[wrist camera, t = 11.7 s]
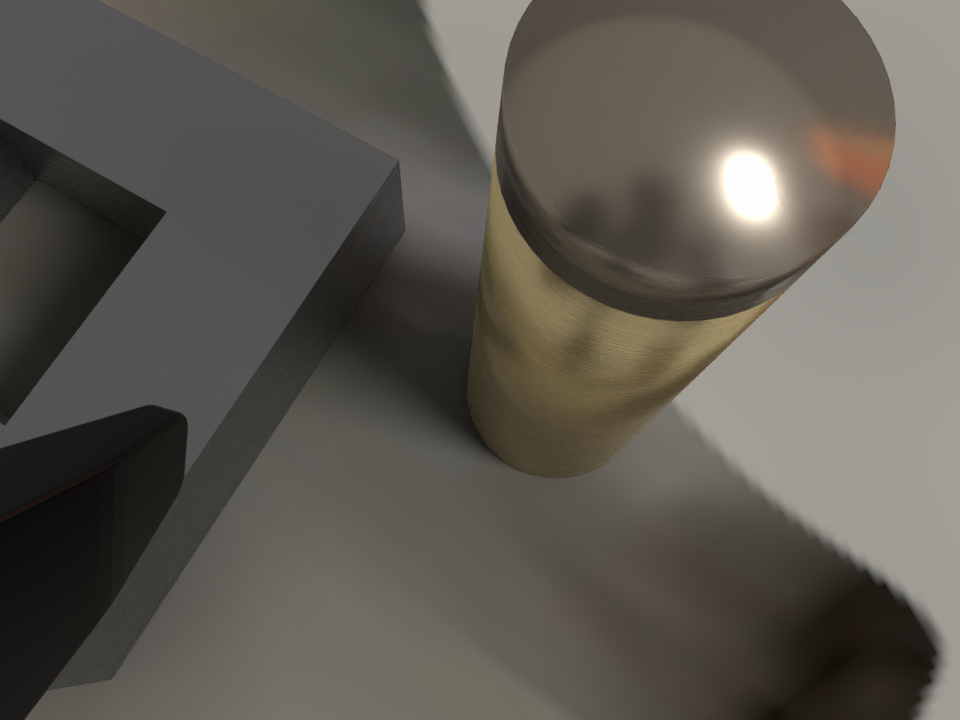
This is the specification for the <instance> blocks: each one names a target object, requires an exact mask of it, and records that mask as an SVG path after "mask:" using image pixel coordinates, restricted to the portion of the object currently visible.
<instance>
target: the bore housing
mask: <svg viewBox="0 0 960 720" xmlns="http://www.w3.org/2000/svg"><path fill="white" fill-rule="evenodd" d="M36 178H37V179H38V180H40V181H42V182H44V183H45V184H47V185H49V186H51V187H53V188H54V189H56V190H58V191H60V192H61V193H63V194H65V195H67V196H68V197H70V198H72V199H74V200H76V201H77V202H79V203H81V204H83V205H84V206H86V207H88V208H90V209H92V210H93V211H95V212H97V213H99V214H100V215H102V216H104V217H106V218H108V219H109V220H111V221H113V222H115V223H116V224H118V225H120V226H122V227H123V228H125V229H127V230H129V231H131V232H132V233H134V234H136V235H138V236H139V237H141V238H143V239H145V242H144V243H143V244H142V246H141V247H140V248H139V249H138V251H137V252H136V253H135V255H134V256H133V257H132V259H131V260H130V261H129V263H128V264H127V265H126V267H125V268H124V269H123V271H122V272H121V273H120V275H119V276H118V277H117V279H116V280H115V281H114V283H113V284H112V285H111V286H110V288H109V289H108V290H107V292H106V293H105V294H104V296H103V297H102V298H101V300H100V301H99V302H98V304H97V305H96V306H95V308H94V309H93V310H92V312H91V313H90V314H89V316H88V317H87V318H86V320H85V321H84V322H83V323H82V325H81V326H80V327H79V329H78V330H77V331H76V333H75V334H74V335H73V337H72V338H71V339H70V341H69V342H68V343H67V345H66V346H65V347H64V349H63V350H62V351H61V353H60V354H59V355H58V357H57V358H56V359H55V361H54V362H53V363H52V364H51V366H50V367H49V368H48V370H47V371H46V372H45V374H44V375H43V376H42V378H41V379H40V380H39V382H38V383H37V384H36V386H35V387H34V388H33V390H32V391H31V392H30V394H29V395H28V396H27V398H26V399H25V400H24V401H23V403H22V404H21V405H20V407H19V408H18V409H17V411H16V412H15V413H14V415H13V416H12V417H11V418H9V417H8V416H6V415H4V414H3V413H1V412H0V448H2V447H6V446H9V445H13V444H16V443H19V442H23V441H26V440H30V439H33V438H36V437H40V436H43V435H47V434H50V433H53V432H57V431H60V430H64V429H67V428H70V427H74V426H77V425H80V424H84V423H87V422H91V421H94V420H97V419H101V418H104V417H108V416H111V415H114V414H118V413H121V412H125V411H128V410H131V409H135V408H138V407H142V406H145V405H157V406H160V407H164V408H167V409H170V410H174V411H177V412H180V413H182V414H184V416H185V417H186V418H187V422H188V436H187V450H186V463H185V475H184V480H183V484H182V487H181V490H180V492H179V494H178V496H177V498H176V500H175V501H174V503H173V505H172V506H171V508H170V509H169V511H168V513H167V514H166V516H165V518H164V519H163V521H162V523H161V524H160V526H159V528H158V529H157V531H156V533H155V534H154V536H153V538H152V539H151V541H150V543H149V544H148V546H147V548H146V549H145V551H144V553H143V554H142V556H141V558H140V559H139V561H138V563H137V564H136V566H135V568H134V569H133V571H132V573H131V574H130V576H129V578H128V579H127V581H126V583H125V584H124V586H123V588H122V589H121V591H120V592H119V594H118V596H117V597H116V599H115V600H114V602H113V603H112V605H111V607H110V608H109V609H108V611H107V612H106V613H105V615H104V616H103V618H102V619H101V620H100V622H99V623H98V624H97V626H96V627H95V628H94V630H93V631H92V632H91V634H90V635H89V636H88V637H87V639H86V640H85V641H84V643H83V644H82V645H81V647H80V648H79V649H78V651H77V652H76V653H75V654H74V656H73V657H72V658H71V660H70V661H69V662H68V664H67V665H66V666H65V667H64V669H63V670H62V671H61V673H60V674H59V675H58V677H57V678H56V679H55V680H54V682H53V683H52V684H51V686H50V687H49V688H48V690H52V689H58V688H64V687H70V686H76V685H82V684H87V683H93V682H99V681H105V680H111V679H112V677H113V676H114V674H115V673H116V671H117V670H118V668H119V667H120V665H121V664H122V662H123V661H124V659H125V658H126V656H127V655H128V653H129V651H130V650H131V648H132V647H133V645H134V644H135V642H136V641H137V639H138V638H139V636H140V635H141V633H142V632H143V630H144V629H145V627H146V626H147V624H148V622H149V621H150V619H151V618H152V616H153V615H154V613H155V612H156V610H157V609H158V607H159V606H160V604H161V603H162V601H163V600H164V598H165V597H166V595H167V593H168V592H169V590H170V589H171V587H172V586H173V584H174V583H175V581H176V580H177V578H178V577H179V575H180V574H181V572H182V571H183V569H184V568H185V566H186V565H187V563H188V561H189V560H190V558H191V557H192V555H193V554H194V552H195V551H196V549H197V548H198V546H199V545H200V543H201V542H202V540H203V539H204V537H205V536H206V534H207V532H208V531H209V529H210V528H211V526H212V525H213V523H214V522H215V520H216V519H217V517H218V516H219V514H220V513H221V511H222V510H223V508H224V507H225V505H226V503H227V502H228V500H229V499H230V497H231V496H232V494H233V493H234V491H235V490H236V488H237V487H238V485H239V484H240V482H241V481H242V479H243V478H244V476H245V474H246V473H247V471H248V470H249V468H250V467H251V465H252V464H253V462H254V461H255V459H256V458H257V456H258V455H259V453H260V452H261V450H262V449H263V447H264V446H265V444H266V442H267V441H268V439H269V438H270V436H271V435H272V433H273V432H274V430H275V429H276V427H277V426H278V424H279V423H280V421H281V420H282V418H283V417H284V415H285V413H286V412H287V410H288V409H289V407H290V406H291V404H292V403H293V401H294V400H295V398H296V397H297V395H298V394H299V392H300V391H301V389H302V388H303V386H304V384H305V383H306V381H307V380H308V378H309V377H310V375H311V374H312V372H313V371H314V369H315V368H316V366H317V365H318V363H319V362H320V360H321V359H322V357H323V356H324V354H325V352H326V351H327V349H328V348H329V346H330V345H331V343H332V342H333V340H334V339H335V337H336V336H337V334H338V333H339V331H340V330H341V328H342V327H343V325H344V323H345V322H346V320H347V319H348V317H349V316H350V314H351V313H352V311H353V310H354V308H355V307H356V305H357V304H358V302H359V301H360V299H361V298H362V296H363V294H364V293H365V291H366V290H367V288H368V287H369V285H370V284H371V282H372V281H373V279H374V278H375V276H376V275H377V273H378V272H379V270H380V269H381V267H382V265H383V264H384V262H385V261H386V259H387V258H388V256H389V255H390V253H391V252H392V250H393V249H394V247H395V246H396V244H397V243H398V241H399V240H400V238H401V237H402V235H403V233H404V232H405V222H404V211H403V200H402V189H401V178H400V167H399V160H398V159H396V158H394V157H392V156H390V155H388V154H386V153H385V152H383V151H381V150H379V149H377V148H375V147H373V146H371V145H370V144H368V143H366V142H364V141H362V140H360V139H358V138H356V137H354V136H353V135H351V134H349V133H347V132H345V131H343V130H341V129H339V128H338V127H336V126H334V125H332V124H330V123H328V122H326V121H324V120H322V119H321V118H319V117H317V116H315V115H313V114H311V113H309V112H307V111H306V110H304V109H302V108H300V107H298V106H296V105H294V104H292V103H290V102H289V101H287V100H285V99H283V98H281V97H279V96H277V95H275V94H274V93H272V92H270V91H268V90H266V89H264V88H262V87H260V86H259V85H257V84H255V83H253V82H251V81H249V80H247V79H245V78H243V77H242V76H240V75H238V74H236V73H234V72H232V71H230V70H228V69H227V68H225V67H223V66H221V65H219V64H217V63H215V62H213V61H211V60H210V59H208V58H206V57H204V56H202V55H200V54H198V53H196V52H195V51H193V50H191V49H189V48H187V47H185V46H183V45H181V44H179V43H178V42H176V41H174V40H172V39H170V38H168V37H166V36H164V35H163V34H161V33H159V32H157V31H155V30H153V29H151V28H149V27H148V26H146V25H144V24H142V23H140V22H138V21H136V20H134V19H132V18H131V17H129V16H127V15H125V14H123V13H121V12H119V11H117V10H116V9H114V8H112V7H110V6H108V5H106V4H104V3H102V2H100V1H99V0H0V222H1V221H2V220H3V218H4V217H5V216H6V215H7V214H8V212H9V211H10V210H11V209H12V207H13V206H14V205H15V204H16V203H17V201H18V200H19V199H20V198H21V196H22V195H23V194H24V193H25V192H26V190H27V189H28V188H29V187H30V185H31V184H32V183H33V182H34V181H35V179H36Z"/></svg>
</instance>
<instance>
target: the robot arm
mask: <svg viewBox="0 0 960 720" xmlns="http://www.w3.org/2000/svg"><path fill="white" fill-rule="evenodd" d="M187 436H188V422H187V418H186V417H185V416H184V414H182V413H180V412H177V411H174V410H170V409H167V408H164V407H160V406H157V405H145V406H142V407H138V408H135V409H131V410H128V411H125V412H121V413H118V414H114V415H111V416H108V417H104V418H101V419H97V420H94V421H91V422H87V423H84V424H80V425H77V426H74V427H70V428H67V429H64V430H60V431H57V432H53V433H50V434H47V435H43V436H40V437H36V438H33V439H30V440H26V441H23V442H19V443H16V444H13V445H9V446H6V447H2V448H0V720H25V718H26V717H27V716H28V714H29V713H30V712H31V710H32V709H33V708H34V707H35V705H36V704H37V703H38V701H39V700H40V699H41V697H42V696H43V695H44V694H45V692H46V691H47V690H48V688H49V687H50V686H51V684H52V683H53V682H54V680H55V679H56V678H57V677H58V675H59V674H60V673H61V671H62V670H63V669H64V667H65V666H66V665H67V664H68V662H69V661H70V660H71V658H72V657H73V656H74V654H75V653H76V652H77V651H78V649H79V648H80V647H81V645H82V644H83V643H84V641H85V640H86V639H87V637H88V636H89V635H90V634H91V632H92V631H93V630H94V628H95V627H96V626H97V624H98V623H99V622H100V620H101V619H102V618H103V616H104V615H105V613H106V612H107V611H108V609H109V608H110V607H111V605H112V603H113V602H114V600H115V599H116V597H117V596H118V594H119V592H120V591H121V589H122V588H123V586H124V584H125V583H126V581H127V579H128V578H129V576H130V574H131V573H132V571H133V569H134V568H135V566H136V564H137V563H138V561H139V559H140V558H141V556H142V554H143V553H144V551H145V549H146V548H147V546H148V544H149V543H150V541H151V539H152V538H153V536H154V534H155V533H156V531H157V529H158V528H159V526H160V524H161V523H162V521H163V519H164V518H165V516H166V514H167V513H168V511H169V509H170V508H171V506H172V505H173V503H174V501H175V500H176V498H177V496H178V494H179V492H180V490H181V487H182V484H183V480H184V475H185V463H186V450H187Z"/></svg>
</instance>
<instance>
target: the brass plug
mask: <svg viewBox="0 0 960 720" xmlns="http://www.w3.org/2000/svg"><path fill="white" fill-rule="evenodd" d="M895 127H896V120H895V107H894V98H893V94H892V89H891V85H890V80H889V77H888V74H887V72H886V69H885V67H884V64H883V61H882V58H881V56H880V54H879V52H878V51H877V49H876V47H875V45H874V43H873V41H872V39H871V37H870V36H869V34H868V33H867V31H866V30H865V29H864V27H863V26H862V24H861V23H860V21H859V20H858V18H857V17H856V16H855V15H854V14H853V13H852V12H851V10H850V9H849V8H848V7H847V6H846V5H845V4H844V3H843V1H841V0H532V2H531V3H530V4H529V6H528V7H527V9H526V11H525V12H524V14H523V16H522V18H521V19H520V21H519V23H518V25H517V28H516V30H515V32H514V35H513V37H512V40H511V42H510V46H509V50H508V54H507V59H506V63H505V69H504V77H503V86H502V94H501V103H500V111H499V119H498V128H497V137H496V144H495V153H494V161H493V170H492V178H491V186H490V195H489V203H488V211H487V220H486V228H485V237H484V245H483V253H482V262H481V270H480V278H479V287H478V295H477V304H476V312H475V320H474V329H473V337H472V346H471V354H470V362H469V371H468V379H467V402H468V407H469V412H470V415H471V418H472V421H473V424H474V426H475V428H476V430H477V432H478V434H479V435H480V437H481V438H482V440H483V441H484V443H485V444H486V445H487V446H488V447H489V448H490V449H491V451H492V452H494V453H495V454H496V455H497V456H498V457H499V458H500V459H502V460H503V461H505V462H506V463H508V464H509V465H510V466H512V467H514V468H516V469H518V470H520V471H523V472H526V473H529V474H531V475H536V476H540V477H547V478H567V477H573V476H578V475H581V474H584V473H587V472H590V471H592V470H594V469H596V468H598V467H600V466H602V465H603V464H605V463H606V462H608V461H609V460H610V459H611V458H612V457H614V456H615V455H616V454H617V453H618V452H619V451H620V450H621V449H622V448H623V447H624V446H625V445H626V444H627V443H628V442H629V441H631V440H632V439H633V438H634V437H635V436H636V435H637V434H638V433H639V432H640V431H641V430H642V429H643V428H644V427H645V426H646V425H647V424H648V423H649V422H650V421H651V420H652V419H653V418H654V417H655V416H656V415H657V414H659V413H660V412H661V411H662V410H663V409H664V408H665V407H666V406H667V405H668V404H669V403H670V402H671V401H672V400H673V399H674V398H675V397H676V396H677V395H678V394H679V393H680V392H681V391H682V390H683V389H684V388H685V387H686V386H688V385H689V383H691V382H692V381H693V380H694V379H695V378H696V377H697V376H698V375H699V374H700V373H701V372H702V371H703V370H704V369H705V368H706V367H707V366H708V365H709V364H710V363H711V362H712V361H714V360H715V359H716V358H717V357H718V356H719V355H720V354H721V352H723V351H724V350H725V349H726V348H727V347H728V346H729V345H730V344H731V343H732V342H733V341H734V340H735V339H736V338H737V337H738V336H739V335H740V334H742V332H744V331H745V330H746V329H747V328H748V327H749V326H750V325H751V324H752V323H753V322H754V321H755V320H756V319H757V318H758V317H759V316H760V315H761V314H762V313H763V312H764V311H765V310H766V309H767V308H769V306H770V305H772V304H773V303H774V302H775V301H776V300H777V299H778V298H779V297H780V296H781V295H782V294H783V293H784V292H785V291H786V290H787V289H788V288H789V287H790V286H791V285H792V284H793V283H794V282H795V281H797V280H798V279H799V278H800V277H801V276H802V275H803V274H804V273H805V272H806V271H807V270H808V269H809V268H810V267H811V266H812V265H813V264H814V263H815V262H816V261H817V260H818V259H819V258H820V257H821V256H822V255H823V254H825V253H826V252H827V250H829V249H830V248H831V247H832V246H833V245H834V244H835V243H836V242H837V241H838V240H839V239H840V238H841V237H842V236H843V235H844V234H845V233H846V232H847V231H848V230H849V229H850V228H852V227H853V226H854V224H855V223H856V222H857V221H858V220H859V219H860V217H861V216H862V215H863V214H864V213H865V211H866V210H867V209H868V208H869V206H870V205H871V203H872V201H873V200H874V198H875V196H876V195H877V193H878V191H879V190H880V188H881V186H882V183H883V180H884V178H885V176H886V173H887V171H888V168H889V165H890V161H891V157H892V152H893V148H894V139H895Z"/></svg>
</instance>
